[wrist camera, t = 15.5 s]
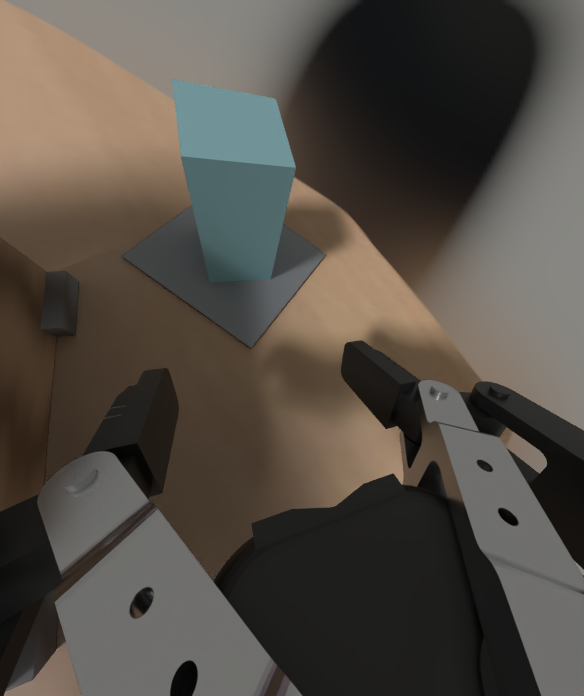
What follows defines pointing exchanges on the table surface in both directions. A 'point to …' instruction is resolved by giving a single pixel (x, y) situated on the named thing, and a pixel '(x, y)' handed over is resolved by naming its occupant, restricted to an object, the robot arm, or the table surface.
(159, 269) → the rubber mat
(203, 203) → the teal block
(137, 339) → the table surface
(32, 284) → the walnut screen
